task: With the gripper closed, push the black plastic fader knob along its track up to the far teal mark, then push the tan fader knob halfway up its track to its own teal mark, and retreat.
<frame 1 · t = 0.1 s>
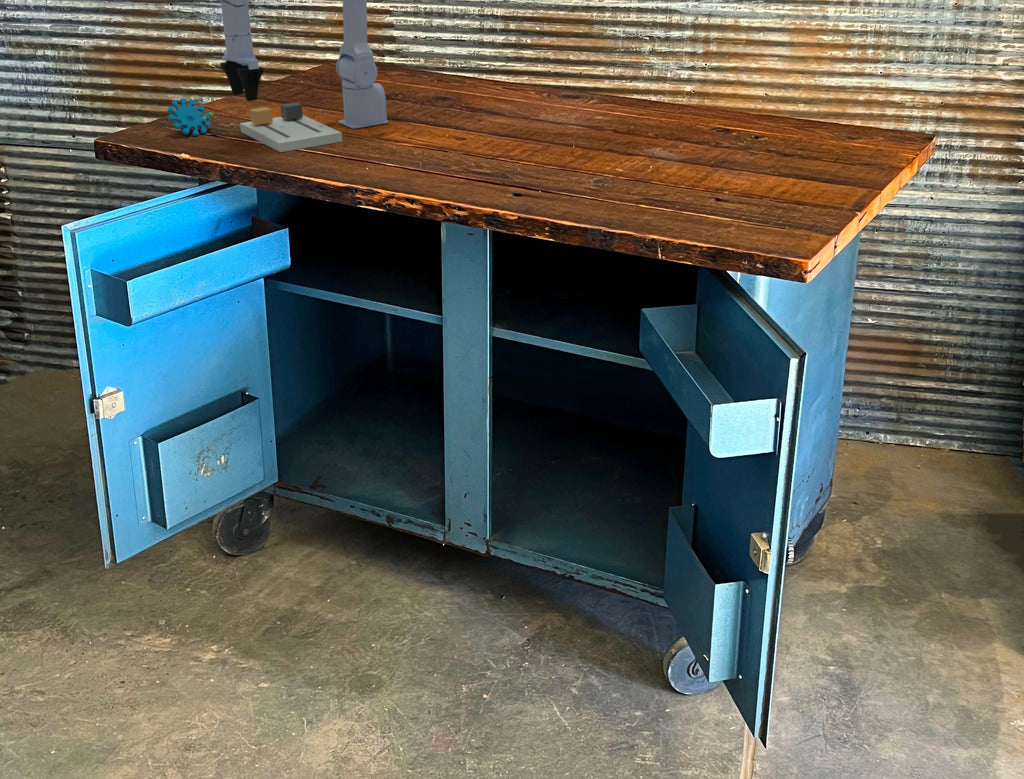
hand: (244, 97, 273), 10 cm above the table, tool pointing down, fingers open, 7 cm apart
gear: (193, 134, 286), on the table
fader panel: (290, 136, 281), on the table
black fader: (291, 111, 286), point 4 cm above the table, slide at 0.0 cm
tan fader: (261, 116, 283), point 4 cm above the table, slide at 0.0 cm
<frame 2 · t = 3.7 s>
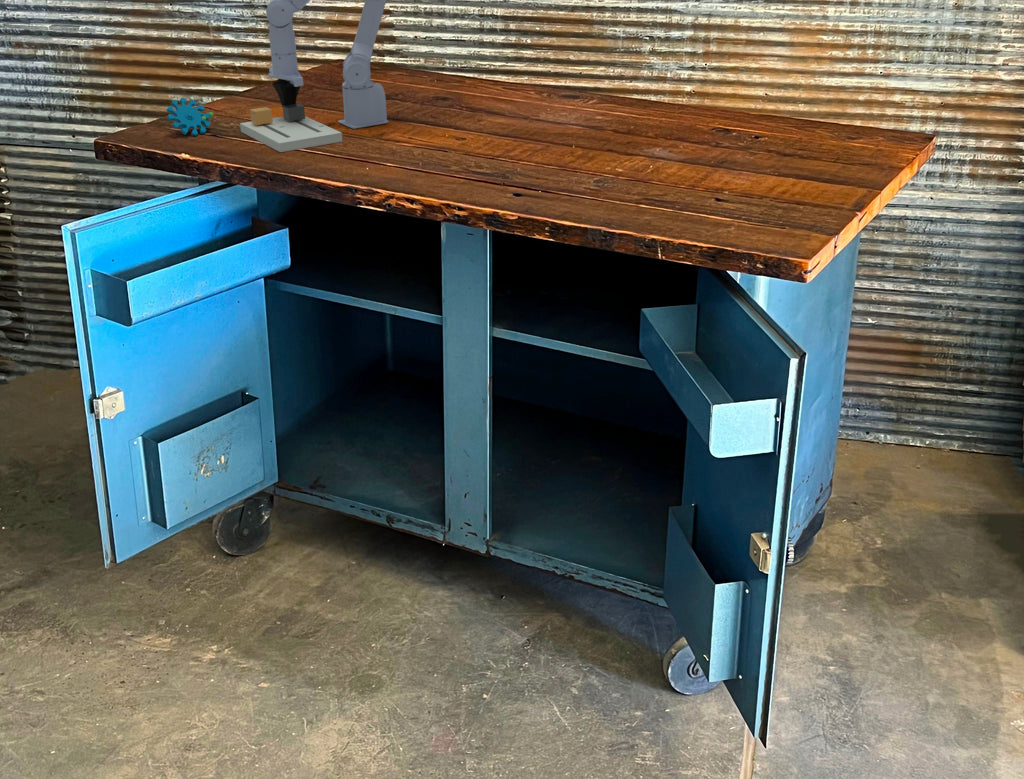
hand: (289, 112, 288), 3 cm above the table, tool pointing down, fingers closed
black fader: (294, 112, 285), point 4 cm above the table, slide at 1.4 cm, touching gripper
everything else where it was.
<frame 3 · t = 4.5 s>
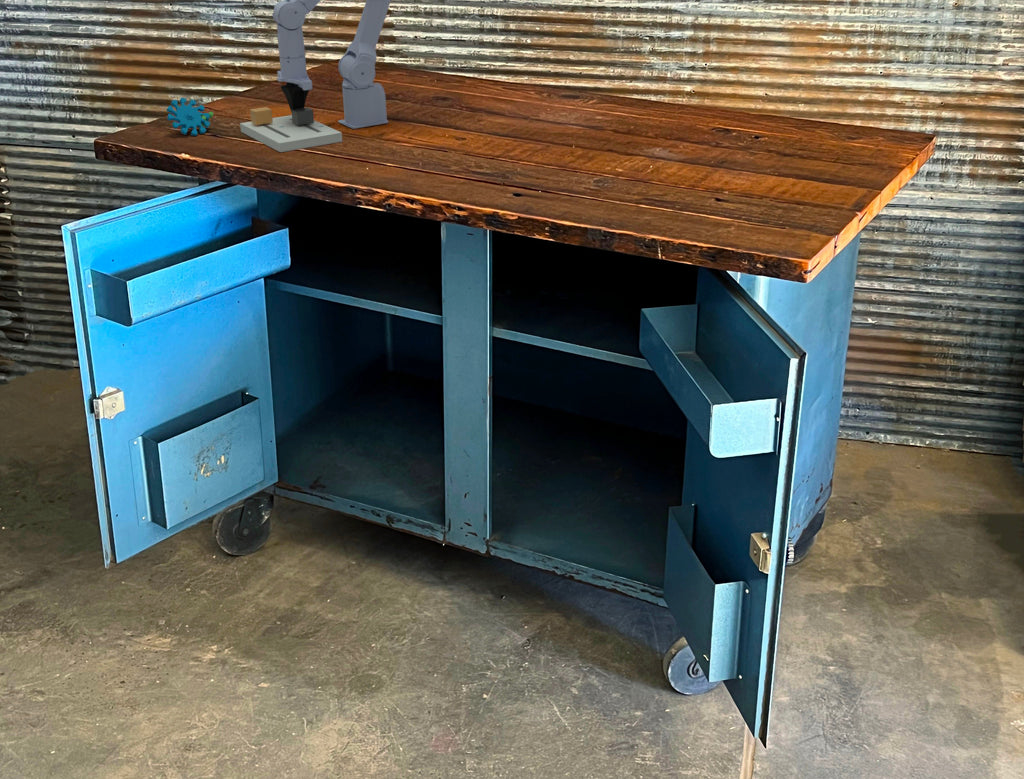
hand: (297, 116, 284), 3 cm above the table, tool pointing down, fingers closed
black fader: (302, 116, 282), point 4 cm above the table, slide at 6.1 cm, touching gripper
everything else where it was.
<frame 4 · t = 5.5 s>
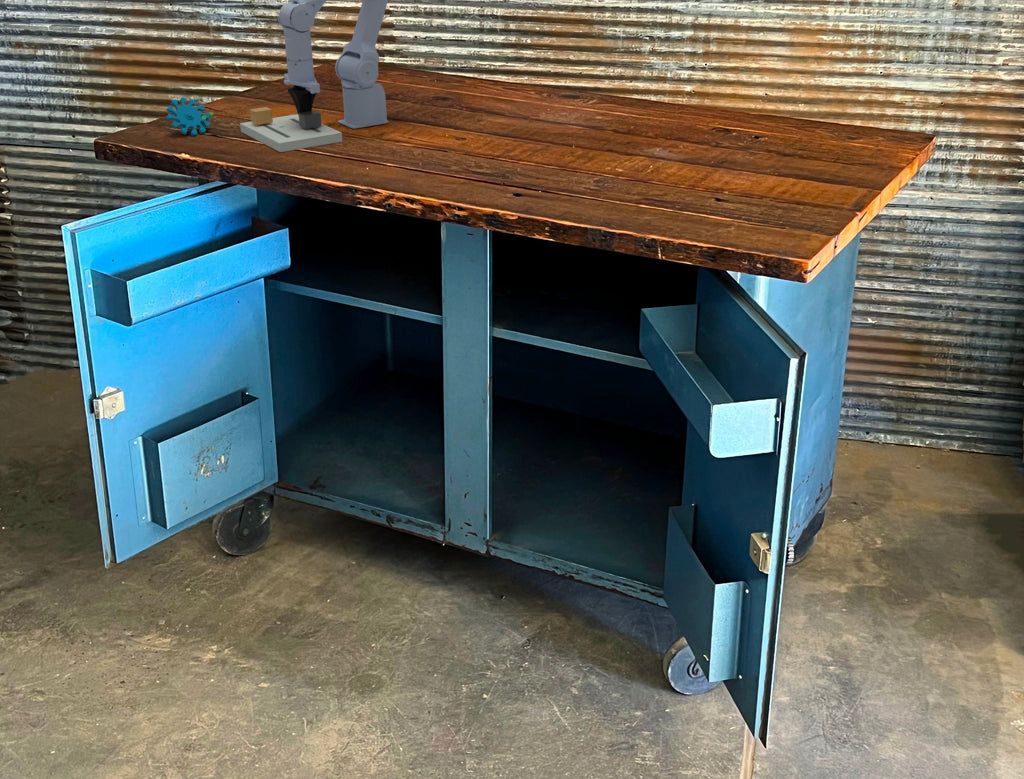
hand: (305, 119, 281), 3 cm above the table, tool pointing down, fingers closed
black fader: (310, 119, 279), point 4 cm above the table, slide at 10.0 cm, touching gripper
everything else where it was.
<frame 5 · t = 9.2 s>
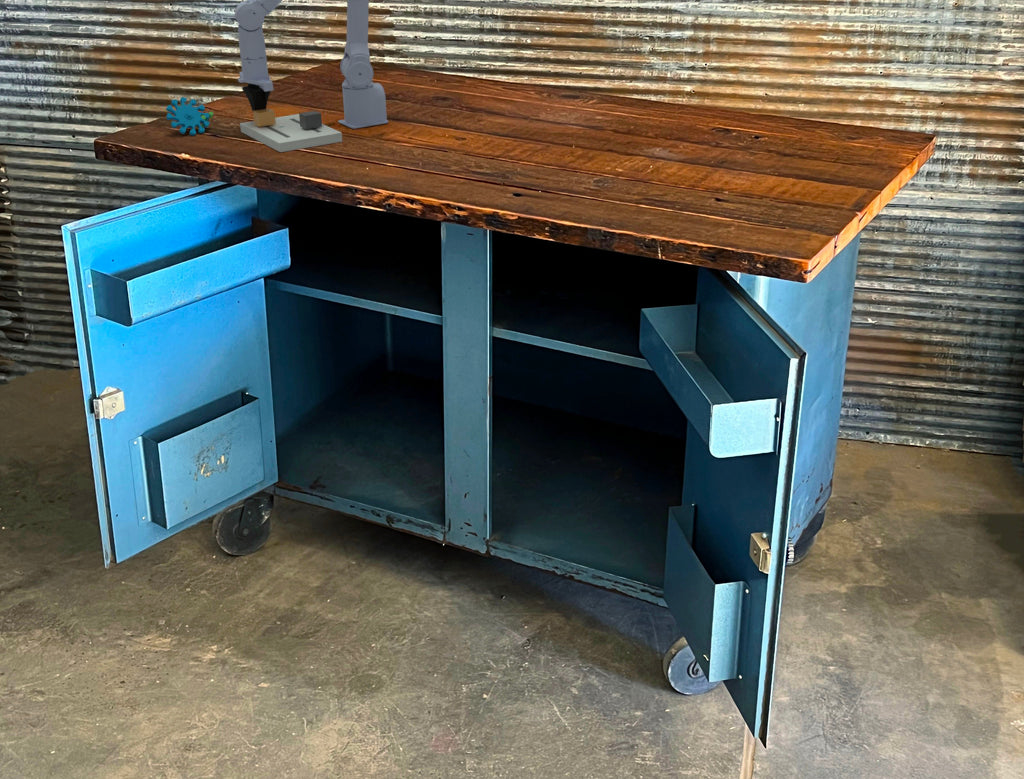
hand: (259, 117, 284), 3 cm above the table, tool pointing down, fingers closed
black fader: (310, 119, 279), point 4 cm above the table, slide at 10.2 cm
tan fader: (264, 117, 281), point 4 cm above the table, slide at 1.7 cm, touching gripper
everything else where it was.
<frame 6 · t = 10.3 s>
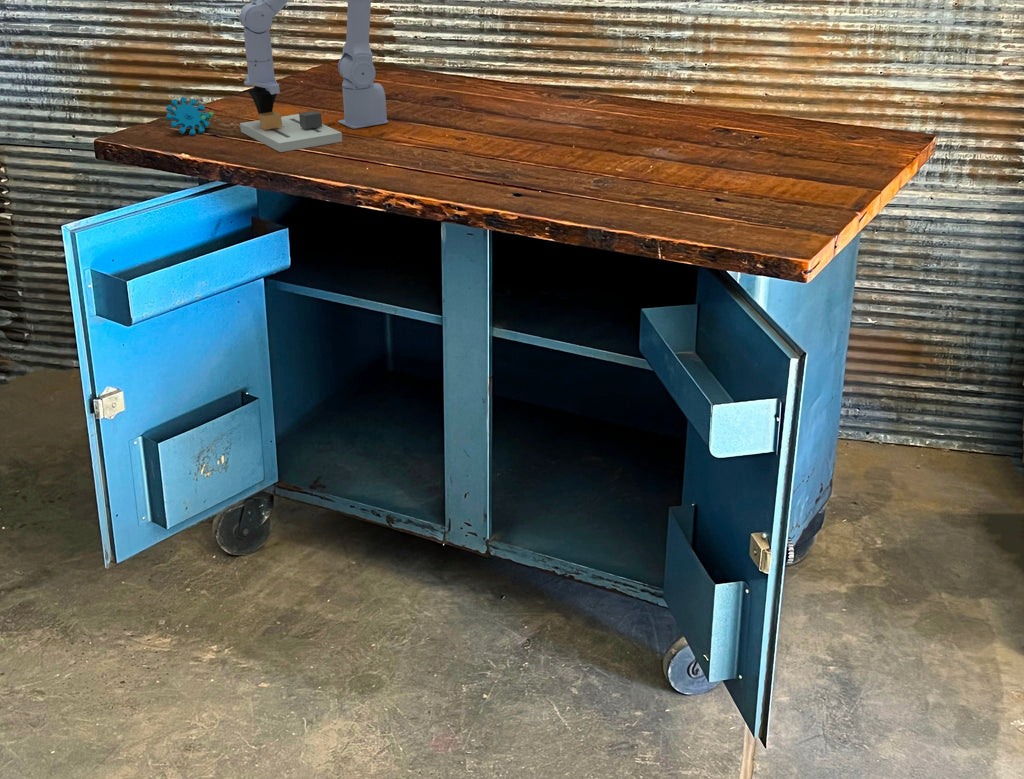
hand: (266, 120, 281), 3 cm above the table, tool pointing down, fingers closed
tan fader: (270, 120, 279), point 4 cm above the table, slide at 5.2 cm, touching gripper
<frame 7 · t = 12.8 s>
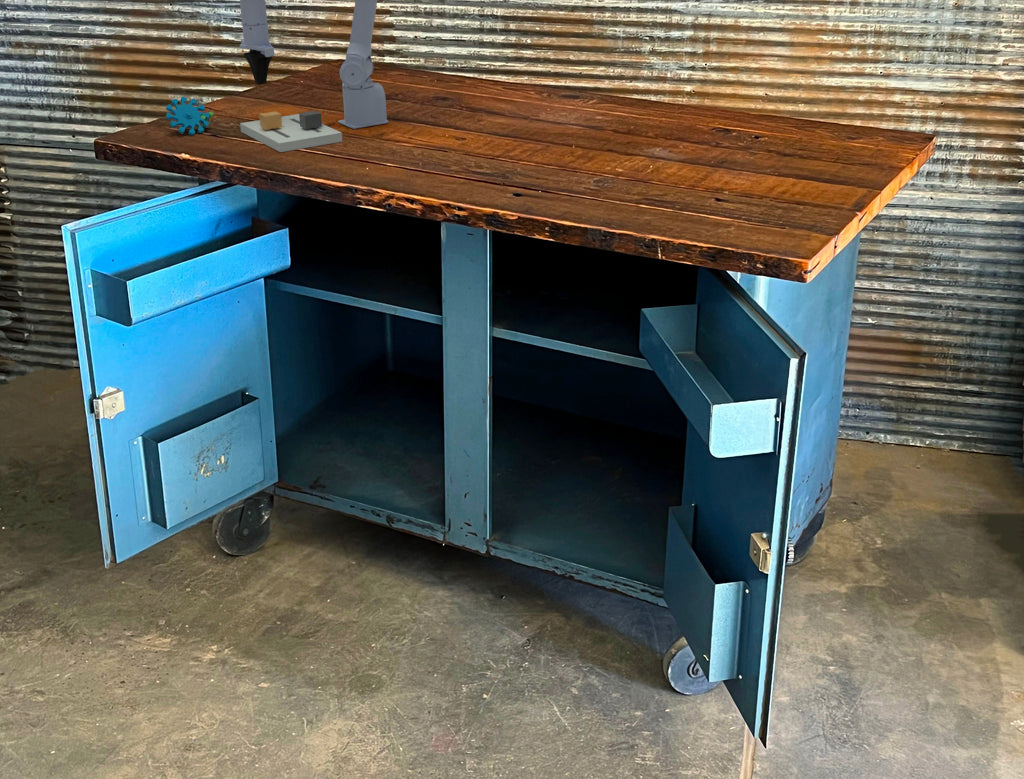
hand: (261, 83, 288), 9 cm above the table, tool pointing down, fingers closed
tan fader: (270, 120, 279), point 4 cm above the table, slide at 5.2 cm
at the end: black fader slide at 10.2 cm; tan fader slide at 5.2 cm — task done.
